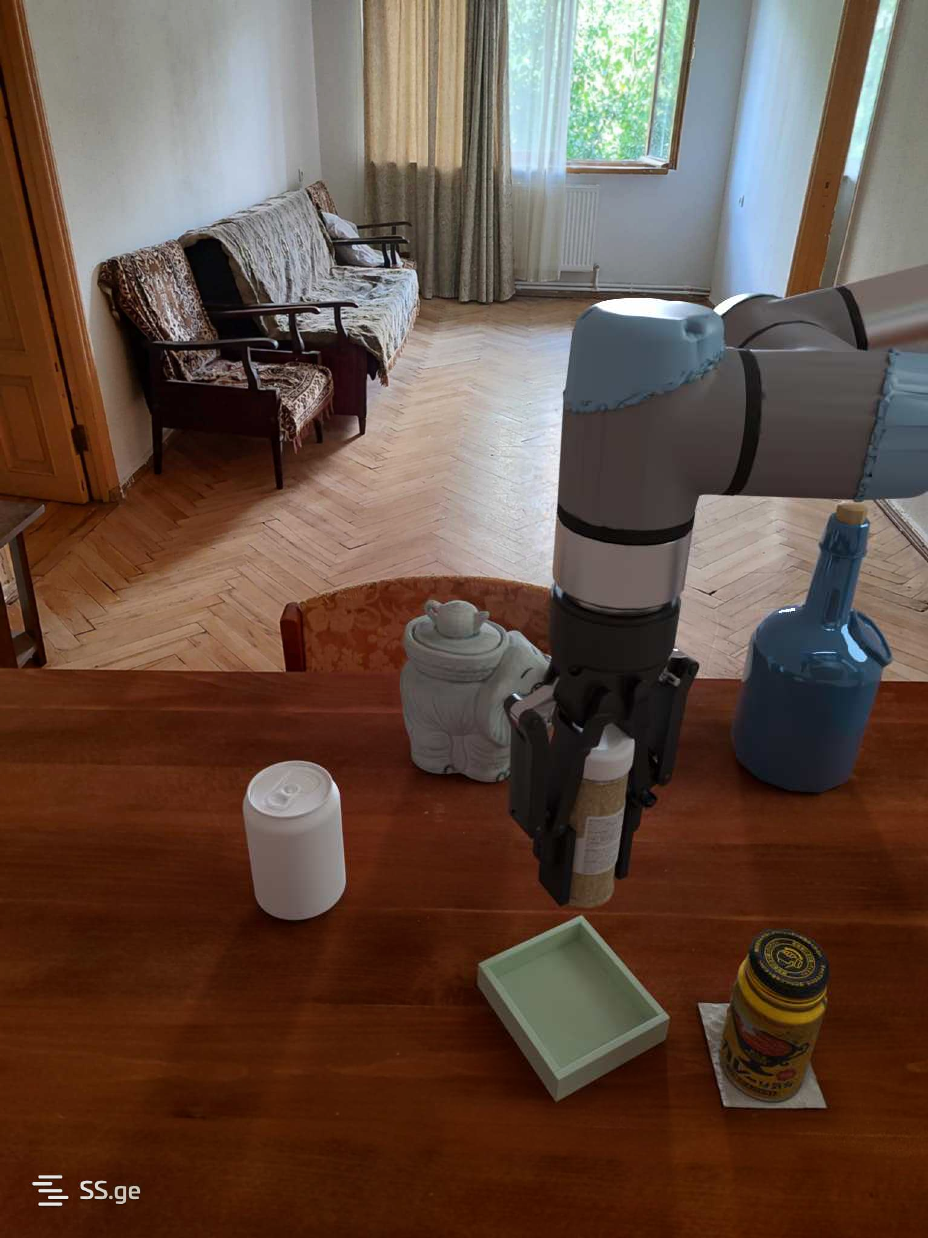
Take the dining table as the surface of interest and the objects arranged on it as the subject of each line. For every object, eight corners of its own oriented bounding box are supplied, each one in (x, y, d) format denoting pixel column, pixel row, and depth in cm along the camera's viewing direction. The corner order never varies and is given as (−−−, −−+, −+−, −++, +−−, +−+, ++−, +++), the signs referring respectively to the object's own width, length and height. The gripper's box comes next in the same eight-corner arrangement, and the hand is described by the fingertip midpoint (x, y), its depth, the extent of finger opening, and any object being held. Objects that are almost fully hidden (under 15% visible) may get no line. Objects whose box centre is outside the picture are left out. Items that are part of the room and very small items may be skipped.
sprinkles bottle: (541, 869, 64) (553, 719, 58) (600, 859, 65) (618, 710, 59) (563, 917, 60) (578, 762, 54) (625, 905, 61) (647, 751, 55)
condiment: (724, 1108, 63) (753, 998, 57) (697, 1004, 70) (721, 897, 64) (826, 1110, 63) (866, 1000, 57) (789, 1006, 70) (821, 898, 64)
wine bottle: (723, 782, 94) (778, 521, 79) (731, 712, 105) (780, 472, 90) (861, 811, 90) (945, 543, 75) (854, 736, 101) (927, 489, 86)
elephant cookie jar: (584, 776, 94) (601, 624, 85) (467, 829, 87) (470, 669, 78) (496, 700, 106) (502, 559, 97) (386, 741, 99) (381, 593, 90)
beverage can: (363, 878, 81) (358, 777, 75) (307, 939, 75) (296, 834, 69) (295, 845, 85) (284, 746, 79) (236, 901, 79) (219, 798, 73)
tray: (665, 1039, 67) (670, 1018, 66) (555, 1102, 63) (558, 1080, 62) (579, 936, 76) (581, 914, 75) (477, 985, 71) (477, 963, 70)
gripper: (686, 533, 57) (644, 807, 69) (452, 592, 50) (449, 888, 61) (773, 580, 52) (712, 869, 63) (524, 654, 44) (506, 967, 56)
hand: (582, 878), depth 62 cm, fingers closed on sprinkles bottle, 4 cm apart
